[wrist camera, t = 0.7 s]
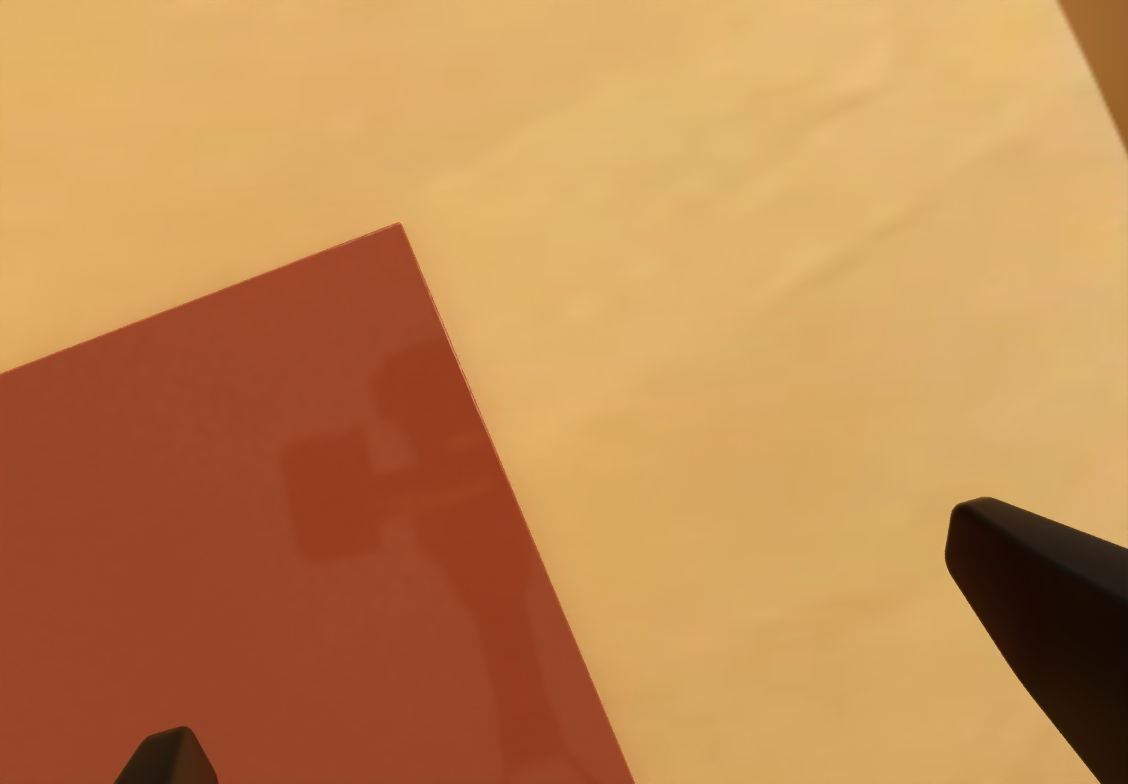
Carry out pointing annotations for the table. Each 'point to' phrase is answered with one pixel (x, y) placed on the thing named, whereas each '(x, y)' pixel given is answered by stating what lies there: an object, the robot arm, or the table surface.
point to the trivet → (280, 550)
